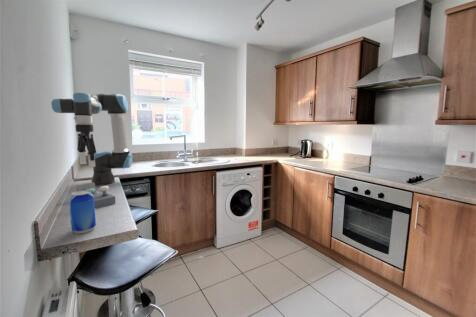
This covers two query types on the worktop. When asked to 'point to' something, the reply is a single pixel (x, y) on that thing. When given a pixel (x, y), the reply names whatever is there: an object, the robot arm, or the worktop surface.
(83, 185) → the electrical switch
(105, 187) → the knob cream
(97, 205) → the mount block
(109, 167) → the robot arm
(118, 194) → the worktop surface
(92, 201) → the beer can
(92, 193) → the knob teal
